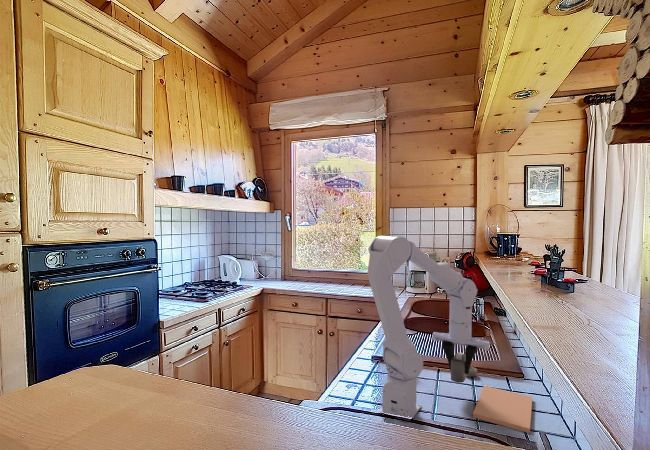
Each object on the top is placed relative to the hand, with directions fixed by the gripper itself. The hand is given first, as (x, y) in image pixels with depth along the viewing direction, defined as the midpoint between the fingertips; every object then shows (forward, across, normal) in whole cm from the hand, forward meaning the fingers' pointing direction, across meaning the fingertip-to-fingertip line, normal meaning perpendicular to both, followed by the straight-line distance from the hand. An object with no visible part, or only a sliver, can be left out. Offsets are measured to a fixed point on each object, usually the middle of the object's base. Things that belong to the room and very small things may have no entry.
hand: (459, 371), depth 96 cm
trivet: (+7, -11, 0) cm, 13 cm away
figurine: (+7, 0, -17) cm, 19 cm away
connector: (+2, 0, 0) cm, 2 cm away
